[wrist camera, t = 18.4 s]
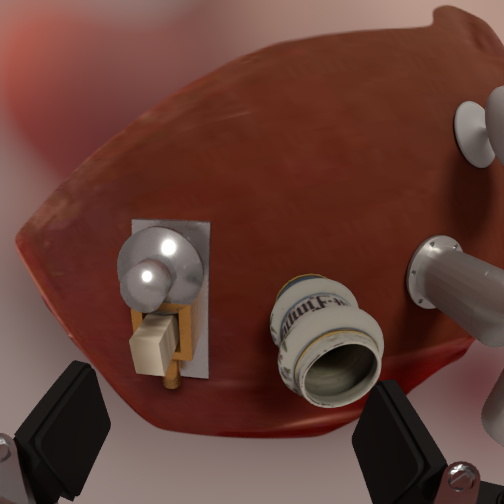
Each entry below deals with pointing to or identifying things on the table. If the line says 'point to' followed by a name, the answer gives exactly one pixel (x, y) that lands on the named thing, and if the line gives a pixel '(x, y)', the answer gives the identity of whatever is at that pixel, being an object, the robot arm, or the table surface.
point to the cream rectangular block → (155, 343)
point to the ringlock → (171, 286)
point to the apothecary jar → (325, 341)
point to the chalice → (481, 130)
